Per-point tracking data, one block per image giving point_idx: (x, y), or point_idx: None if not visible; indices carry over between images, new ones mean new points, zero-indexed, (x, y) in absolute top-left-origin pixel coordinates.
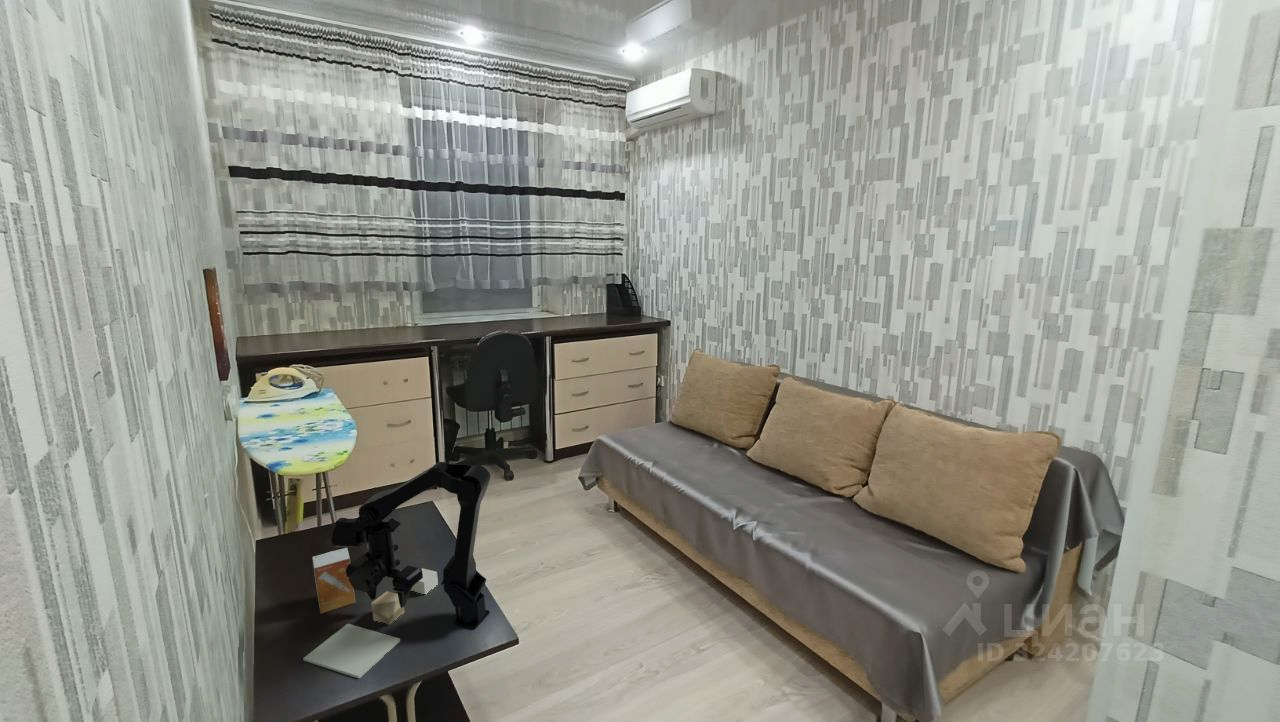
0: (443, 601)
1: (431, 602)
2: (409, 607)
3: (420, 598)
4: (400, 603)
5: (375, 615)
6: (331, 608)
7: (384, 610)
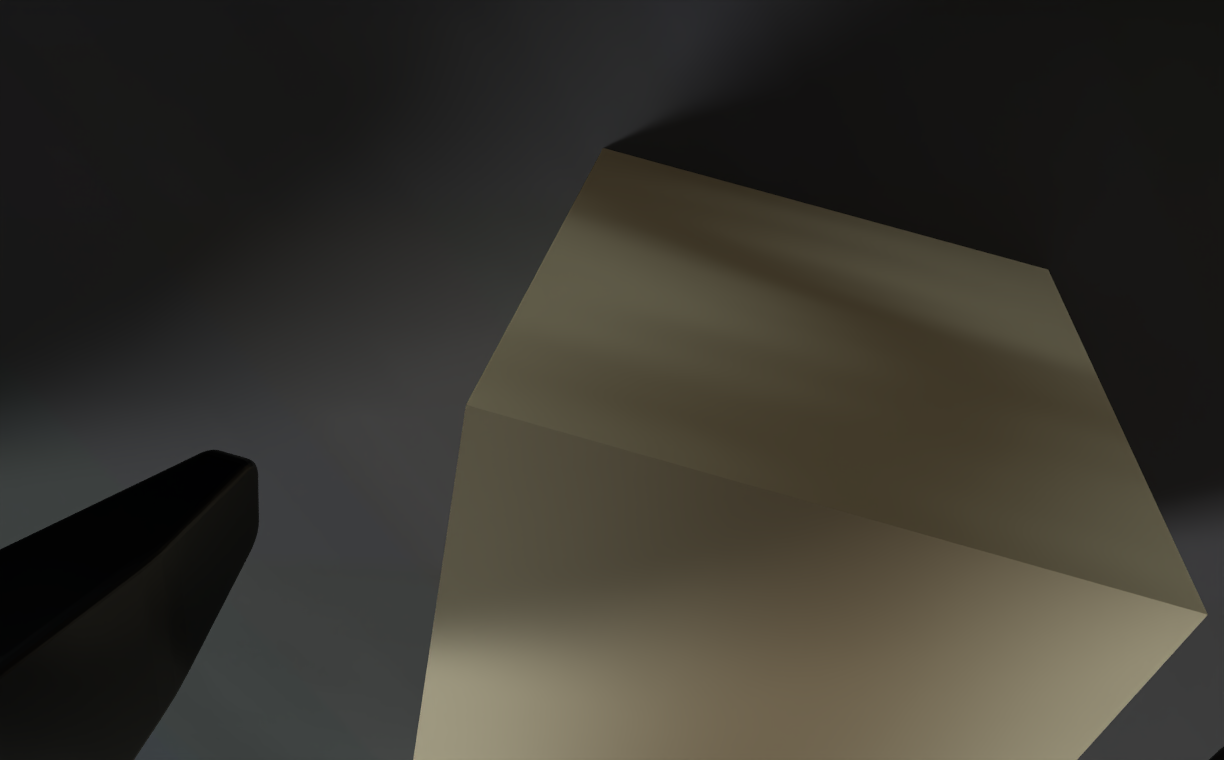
0: None
1: (275, 642)
2: None
3: None
4: (102, 533)
5: (999, 328)
6: None
7: (646, 360)
